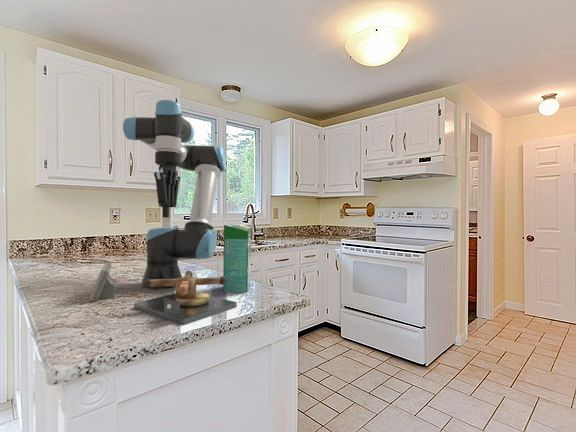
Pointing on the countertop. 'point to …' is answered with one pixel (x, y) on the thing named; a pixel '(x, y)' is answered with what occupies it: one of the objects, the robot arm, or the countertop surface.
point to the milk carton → (237, 258)
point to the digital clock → (104, 285)
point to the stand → (183, 308)
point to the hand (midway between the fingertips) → (167, 227)
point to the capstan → (187, 288)
